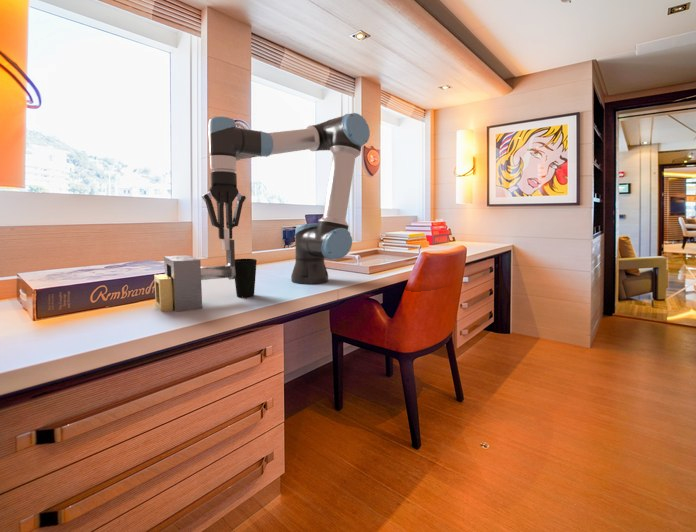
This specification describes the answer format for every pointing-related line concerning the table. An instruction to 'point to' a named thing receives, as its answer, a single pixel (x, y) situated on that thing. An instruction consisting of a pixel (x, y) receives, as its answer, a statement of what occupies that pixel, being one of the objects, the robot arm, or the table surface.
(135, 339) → the table surface
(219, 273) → the shaft
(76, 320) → the table surface
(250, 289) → the cup
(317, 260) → the robot arm
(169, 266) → the block
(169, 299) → the block
